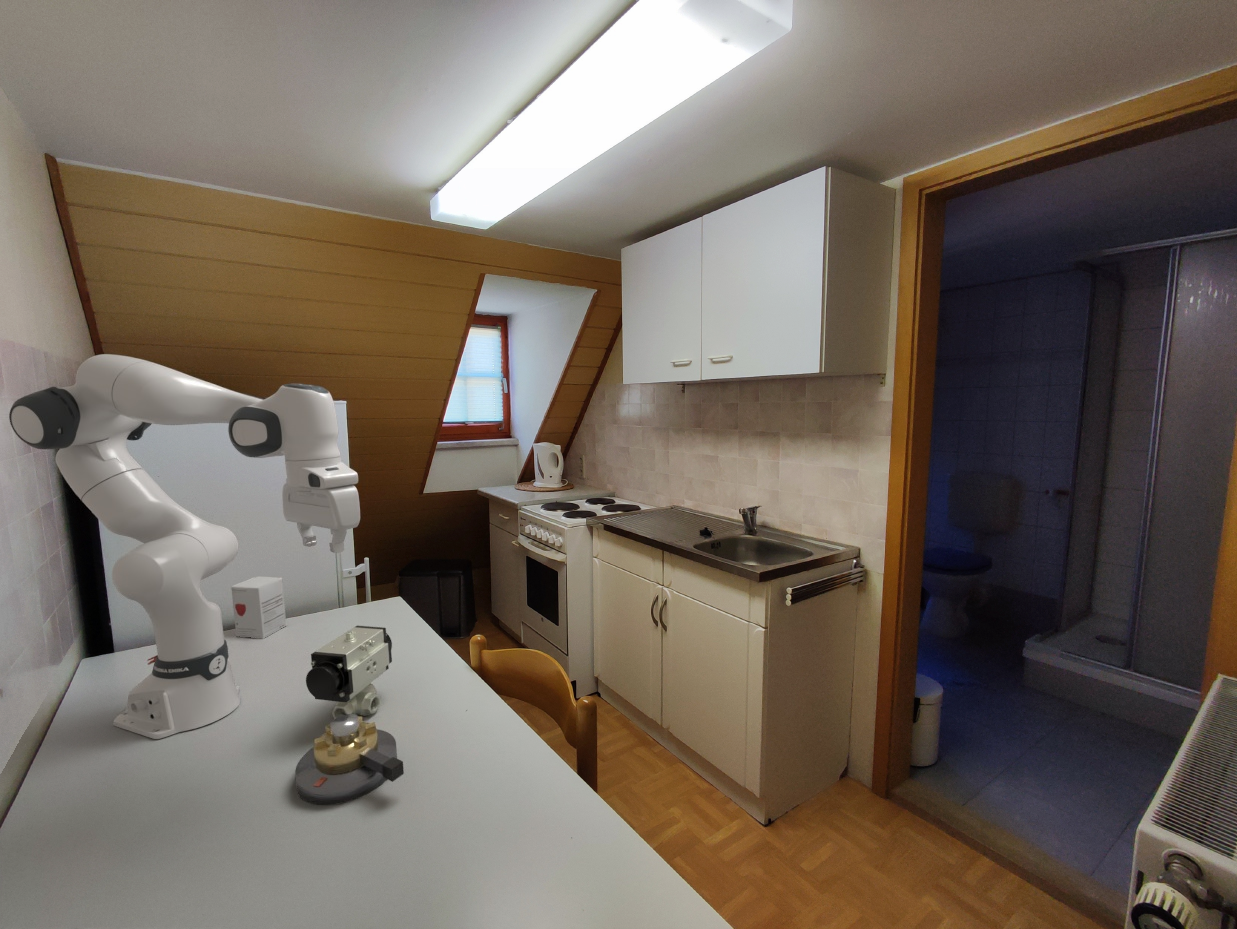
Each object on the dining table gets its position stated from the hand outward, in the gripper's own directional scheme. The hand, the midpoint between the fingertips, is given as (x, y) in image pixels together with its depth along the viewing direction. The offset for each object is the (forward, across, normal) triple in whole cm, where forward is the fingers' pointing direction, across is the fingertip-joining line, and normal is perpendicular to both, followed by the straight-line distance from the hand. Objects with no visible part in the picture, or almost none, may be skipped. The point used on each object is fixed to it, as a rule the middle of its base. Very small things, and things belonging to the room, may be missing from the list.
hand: (323, 548), depth 100 cm
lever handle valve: (+35, +13, -4) cm, 38 cm away
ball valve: (+39, -8, +8) cm, 40 cm away
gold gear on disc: (+39, +8, -4) cm, 40 cm away
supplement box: (+38, -70, +16) cm, 81 cm away
